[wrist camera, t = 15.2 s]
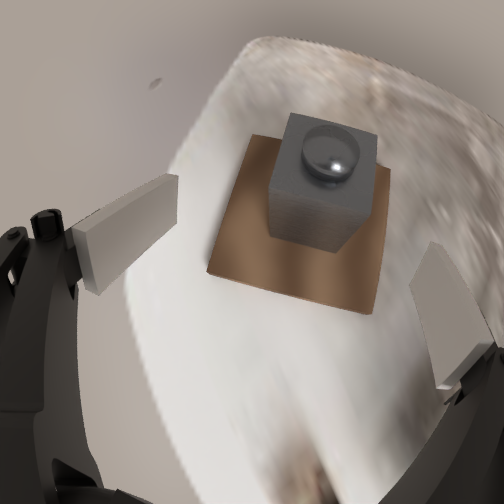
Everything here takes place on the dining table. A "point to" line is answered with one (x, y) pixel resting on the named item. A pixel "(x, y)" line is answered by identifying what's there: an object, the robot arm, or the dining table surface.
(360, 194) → the socket
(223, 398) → the dining table surface
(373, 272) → the post base
